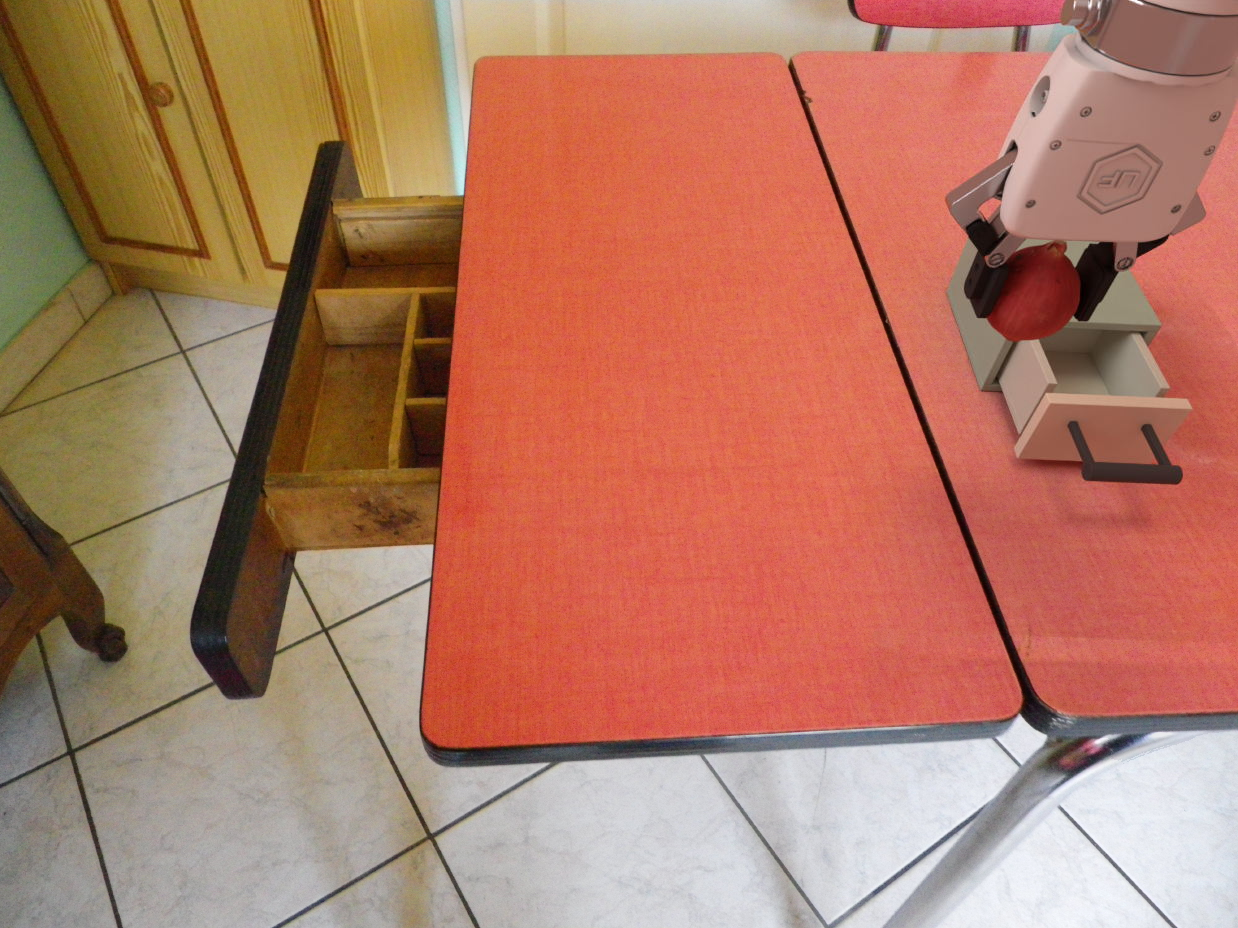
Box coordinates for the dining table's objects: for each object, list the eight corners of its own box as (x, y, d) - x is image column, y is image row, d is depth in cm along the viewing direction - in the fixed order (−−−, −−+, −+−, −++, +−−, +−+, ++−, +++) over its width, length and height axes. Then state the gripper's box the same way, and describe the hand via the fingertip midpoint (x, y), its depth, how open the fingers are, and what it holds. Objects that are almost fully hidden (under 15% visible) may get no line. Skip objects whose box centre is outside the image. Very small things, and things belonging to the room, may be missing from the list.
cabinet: (1115, 396, 79) (1162, 325, 72) (980, 390, 79) (1015, 319, 72) (1066, 297, 88) (1104, 226, 82) (945, 292, 88) (974, 220, 82)
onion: (961, 352, 58) (1004, 253, 52) (971, 303, 61) (1013, 205, 55) (1050, 376, 56) (1105, 277, 50) (1055, 324, 60) (1107, 226, 54)
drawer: (1177, 519, 69) (1225, 465, 63) (1036, 513, 69) (1073, 458, 63) (1097, 357, 81) (1132, 300, 76) (978, 352, 81) (1005, 295, 76)
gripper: (1016, 51, 40) (908, 340, 54) (1374, 64, 41) (1176, 348, 54) (975, -11, 45) (885, 268, 59) (1295, 1, 46) (1132, 276, 59)
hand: (1026, 304), depth 57 cm, fingers closed on onion, 5 cm apart
